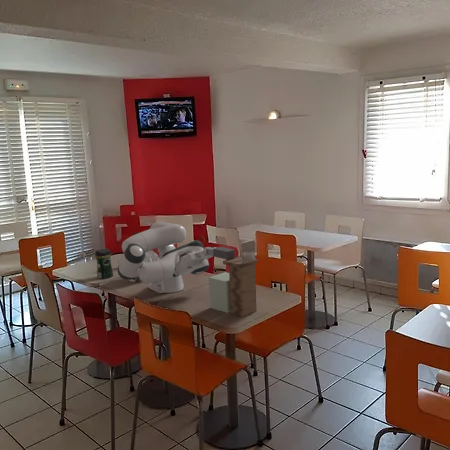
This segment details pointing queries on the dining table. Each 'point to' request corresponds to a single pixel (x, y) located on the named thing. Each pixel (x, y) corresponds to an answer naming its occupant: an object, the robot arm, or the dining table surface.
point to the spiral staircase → (147, 258)
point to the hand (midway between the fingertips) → (209, 250)
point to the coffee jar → (103, 263)
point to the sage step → (220, 292)
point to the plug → (221, 252)
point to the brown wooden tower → (243, 280)
